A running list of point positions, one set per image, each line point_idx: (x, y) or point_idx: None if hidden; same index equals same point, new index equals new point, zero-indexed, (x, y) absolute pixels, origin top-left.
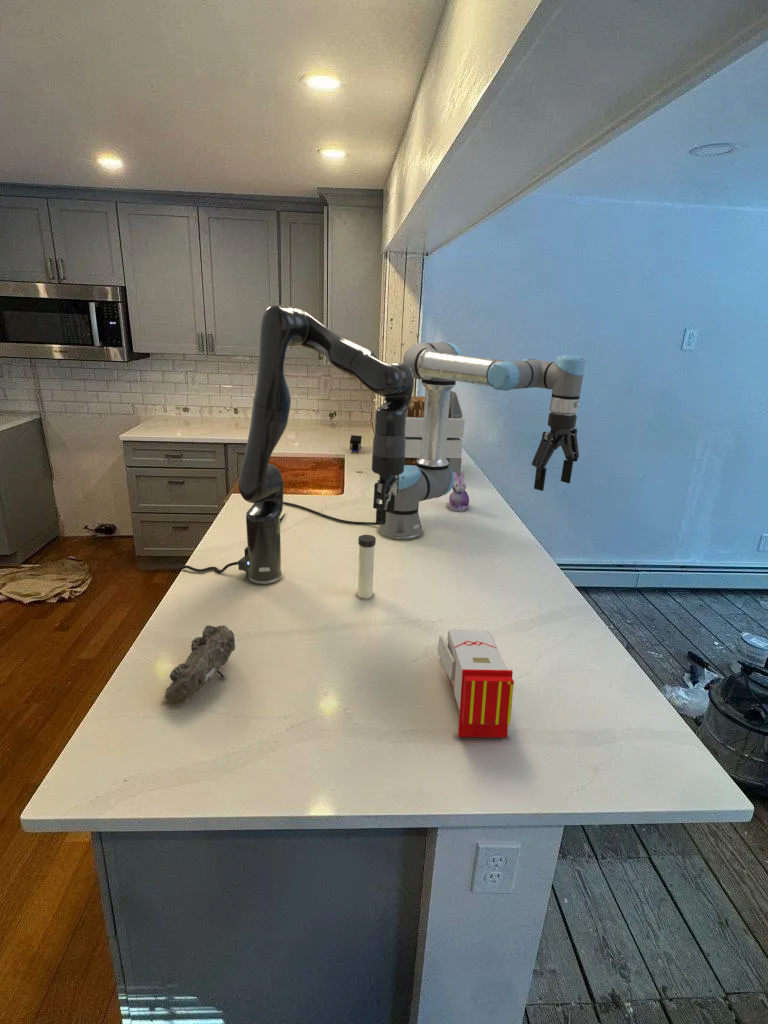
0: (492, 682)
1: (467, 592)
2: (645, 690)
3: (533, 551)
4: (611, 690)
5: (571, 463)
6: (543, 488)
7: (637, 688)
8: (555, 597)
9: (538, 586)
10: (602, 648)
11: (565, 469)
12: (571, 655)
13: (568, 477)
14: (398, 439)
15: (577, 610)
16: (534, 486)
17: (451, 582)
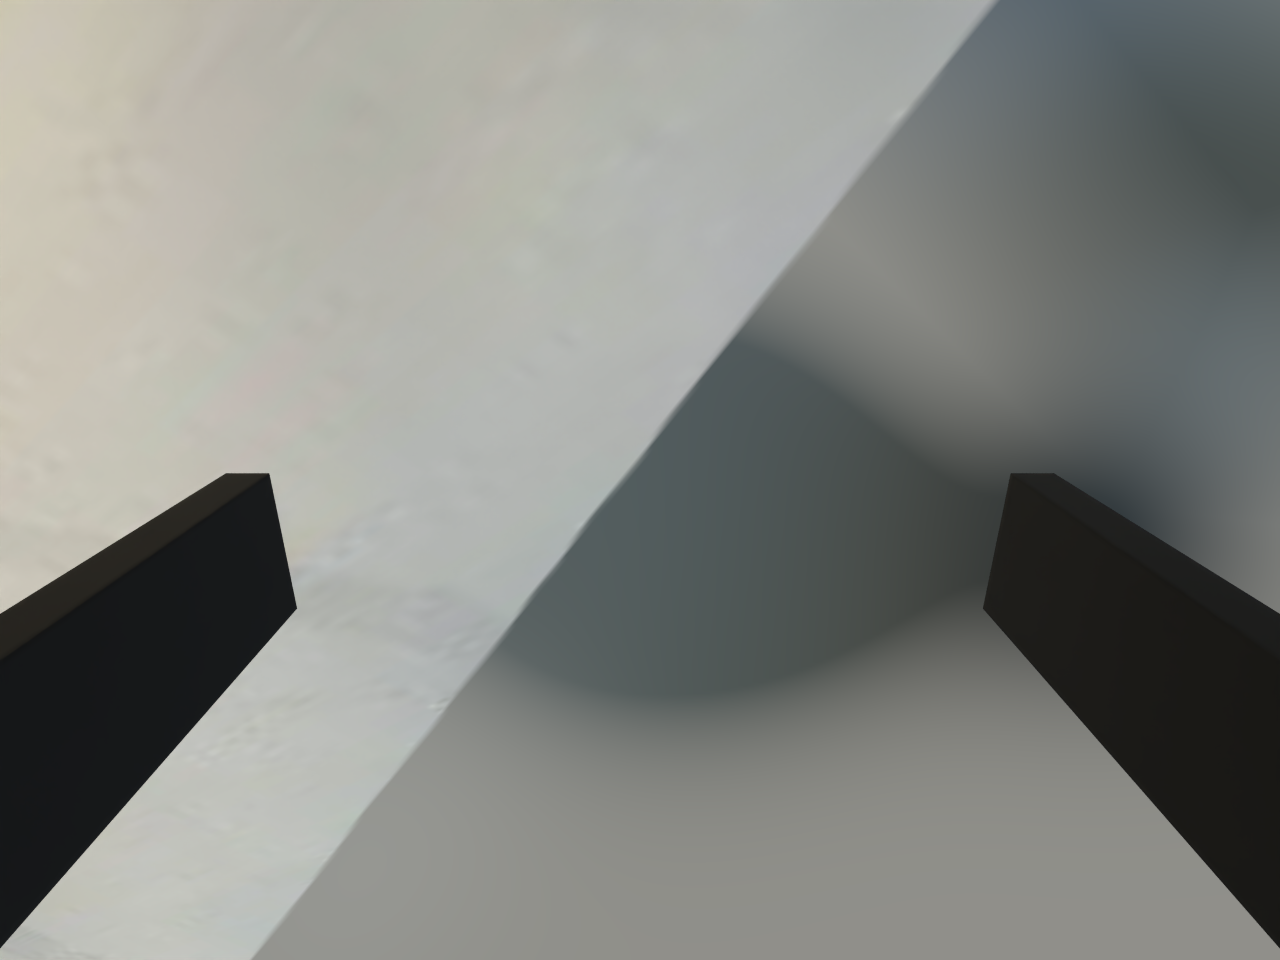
0: None
1: (115, 236)
2: (261, 927)
3: (884, 101)
4: (174, 886)
5: (1258, 909)
6: (276, 626)
7: (248, 915)
8: (479, 523)
9: (500, 415)
10: (325, 792)
11: (1152, 652)
12: (197, 760)
13: (1036, 648)
14: None
15: (466, 631)
16: (206, 493)
17: (95, 89)
